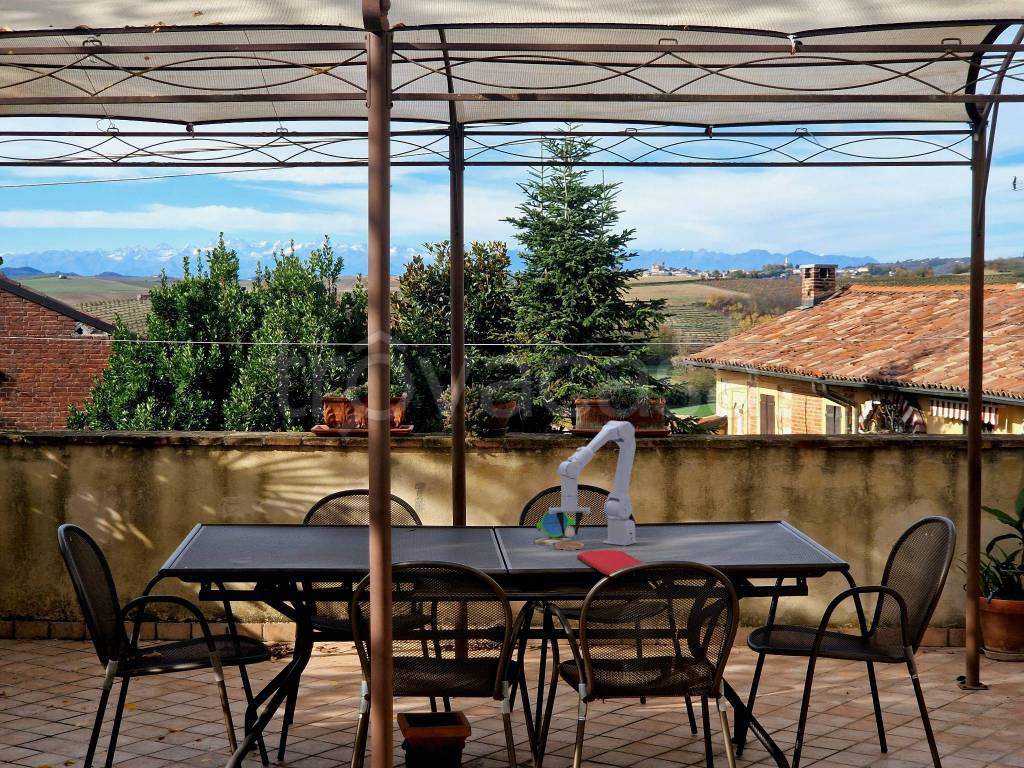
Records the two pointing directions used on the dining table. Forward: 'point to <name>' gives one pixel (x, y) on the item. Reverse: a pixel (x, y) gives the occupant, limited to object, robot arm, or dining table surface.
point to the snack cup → (554, 524)
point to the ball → (569, 531)
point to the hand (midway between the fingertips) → (569, 534)
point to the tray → (551, 541)
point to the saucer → (569, 545)
